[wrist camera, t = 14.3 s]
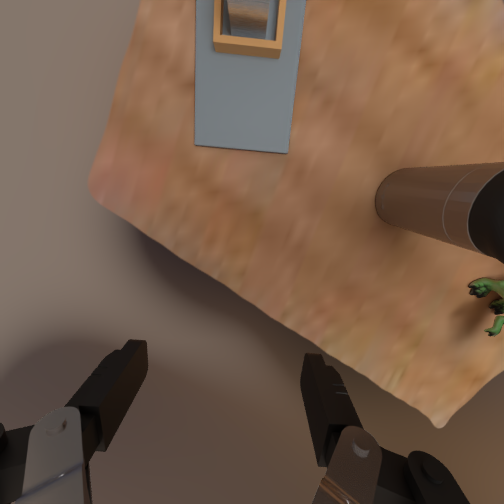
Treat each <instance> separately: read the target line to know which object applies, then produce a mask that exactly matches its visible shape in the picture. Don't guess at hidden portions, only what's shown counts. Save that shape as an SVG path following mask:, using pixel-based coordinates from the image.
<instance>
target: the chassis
mask: <svg viewBox="0 0 504 504" xmlns="http://www.w3.org/2000/svg"><path fill="white" fill-rule="evenodd" d="M305 5H306V0H270V4H269V12H268V21H267V29H266V38H265V40H264V39H255V38H246V37H237V36H232V35H231V27H230V19H229V11H228V3H227V0H196V69H195V145H196V146H207V147H218V148H228V149H239V150H250V151H261V152H271V153H282V154H287V153H288V146H289V138H290V130H291V121H292V113H293V105H294V96H295V88H296V80H297V72H298V63H299V55H300V47H301V38H302V30H303V22H304V13H305Z"/></svg>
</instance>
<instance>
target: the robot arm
mask: <svg viewBox="0 0 504 504" xmlns="http://www.w3.org/2000/svg"><path fill="white" fill-rule="evenodd" d="M376 209H377V212H378V214H379V216H380V217H381V218H382V219H383V220H384V221H385V222H387V223H389V224H392V225H395V226H398V227H401V228H404V229H406V230H410V231H413V232H416V233H419V234H422V235H425V236H428V237H431V238H434V239H437V240H440V241H443V242H446V243H450V244H453V245H456V246H459V247H462V248H465V249H468V250H472V251H475V252H478V253H481V254H484V255H487V256H490V257H493V258H496V259H498V260H499V261H500V262H502V263H503V264H504V162H495V163H482V164H466V165H450V166H434V167H417V168H405V169H401V170H398V171H396V172H394V173H392V174H391V175H389V176H388V177H387V178H386V179H385V180H384V181H383V183H382V184H381V186H380V187H379V189H378V192H377V195H376ZM147 370H148V355H147V342H146V341H145V340H132V339H130V340H128V342H127V343H126V344H125V345H124V347H123V348H122V349H121V350H115V351H113V352H112V353H110V354H109V355H107V356H106V357H105V358H104V359H103V360H102V362H101V363H100V364H99V365H98V367H97V368H96V369H95V370H94V371H93V373H92V374H91V376H89V377H88V379H87V380H86V381H85V382H84V383H83V385H82V386H81V387H80V388H79V389H78V391H77V392H76V393H75V394H74V396H73V397H72V398H71V399H70V400H69V402H68V403H67V404H66V405H65V406H64V407H63V408H59V409H56V410H54V411H52V412H50V413H48V414H47V415H45V416H44V417H43V418H41V419H40V420H39V421H38V422H37V423H36V424H35V425H32V426H27V427H23V428H18V429H14V430H10V431H5V429H4V426H3V424H2V423H0V504H11V502H14V501H15V504H93V500H92V488H91V477H90V465H89V461H90V459H91V457H92V456H93V454H94V452H95V451H103V452H105V451H106V450H107V448H108V446H109V444H110V443H111V441H112V439H113V437H114V435H115V433H116V431H117V429H118V428H119V426H120V424H121V422H122V420H123V418H124V417H125V415H126V413H127V411H128V409H129V407H130V405H131V404H132V402H133V400H134V398H135V396H136V394H137V392H138V391H139V389H140V387H141V385H142V383H143V381H144V379H145V377H146V374H147ZM300 386H301V392H302V397H303V401H304V406H305V410H306V415H307V419H308V423H309V428H310V433H311V437H312V441H313V446H314V450H315V455H316V459H317V464H318V466H319V467H327V471H326V473H325V476H324V478H323V479H322V480H321V482H320V484H319V487H318V489H317V492H316V494H315V497H314V499H313V501H312V504H470V503H469V501H468V500H467V498H466V497H465V495H464V493H463V492H462V490H461V488H460V487H459V485H458V484H457V482H456V480H455V479H454V477H453V476H452V474H451V473H450V471H449V470H448V469H447V468H446V467H445V466H444V465H443V464H442V463H441V462H440V461H439V460H437V459H436V458H435V457H433V456H432V455H430V454H428V453H425V452H422V451H413V452H411V453H410V454H409V456H408V458H406V457H404V456H401V455H398V454H396V453H393V452H391V451H388V450H386V449H384V448H382V447H381V446H379V444H378V442H377V441H376V440H375V438H374V437H373V436H372V435H371V434H370V433H368V432H367V431H366V430H364V429H363V427H362V424H361V422H360V420H359V418H358V415H357V413H356V411H355V408H354V407H353V404H352V402H351V400H350V397H349V395H348V392H347V390H346V388H345V387H344V383H343V381H342V379H341V377H340V374H339V373H338V372H337V371H336V370H335V369H334V368H333V367H332V366H326V365H325V362H324V360H323V357H322V355H321V354H314V353H306V354H305V356H304V362H303V367H302V372H301V379H300Z"/></svg>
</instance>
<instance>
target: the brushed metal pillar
mask: <svg viewBox="0 0 504 504" xmlns="http://www.w3.org/2000/svg"><path fill="white" fill-rule="evenodd" d="M227 3H228V11H229V19H230V27H231V35H232V36H237V37H246V38H255V39H264V40H265V38H266V29H267V21H268V12H269V4H270V0H227Z"/></svg>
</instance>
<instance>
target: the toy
mask: <svg viewBox="0 0 504 504" xmlns="http://www.w3.org/2000/svg"><path fill="white" fill-rule="evenodd" d="M469 288H472V290H471V293H470V295H477V298H481V297H485V296H487V294H489V292H490V291H492V290H493V291H495V292H497V293H498V294H499V295H500V296H501V297H502V299H500V300H494V301H493V302H492V303H491V305H490V306H489V308H490V309H493V308H494V309H495V311H494V314H495V315H498V314H504V280H494V279H489V278H480V279H478V280H476V281H473V282H471V284H470V285H469ZM503 324H504V316H496V318H495V320H494V324H493V327H492V328H488V329H485V330H484V331H485V332H489V334H488V336H496V335H497V334H499V333H500V331H501V328H502V325H503Z"/></svg>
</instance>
